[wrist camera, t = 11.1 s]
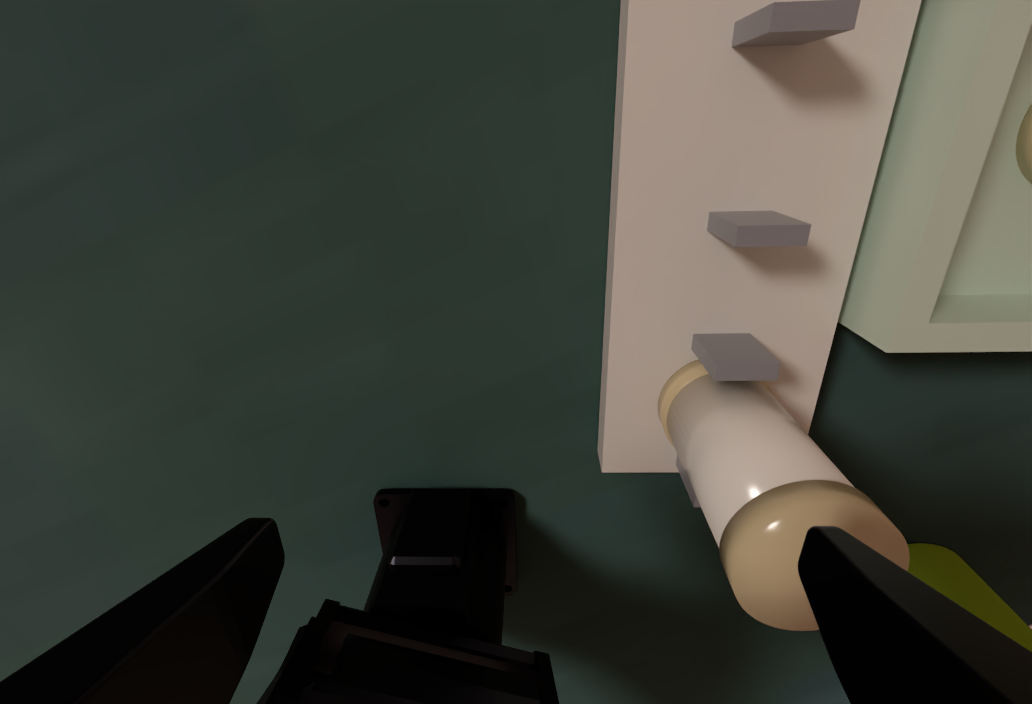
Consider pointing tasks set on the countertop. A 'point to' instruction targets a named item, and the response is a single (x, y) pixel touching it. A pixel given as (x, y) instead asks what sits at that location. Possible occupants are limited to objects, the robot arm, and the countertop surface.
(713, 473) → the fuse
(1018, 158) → the fuse marked
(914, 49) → the tray
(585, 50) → the countertop surface
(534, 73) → the countertop surface
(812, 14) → the fuse holder
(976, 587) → the soap dispenser
